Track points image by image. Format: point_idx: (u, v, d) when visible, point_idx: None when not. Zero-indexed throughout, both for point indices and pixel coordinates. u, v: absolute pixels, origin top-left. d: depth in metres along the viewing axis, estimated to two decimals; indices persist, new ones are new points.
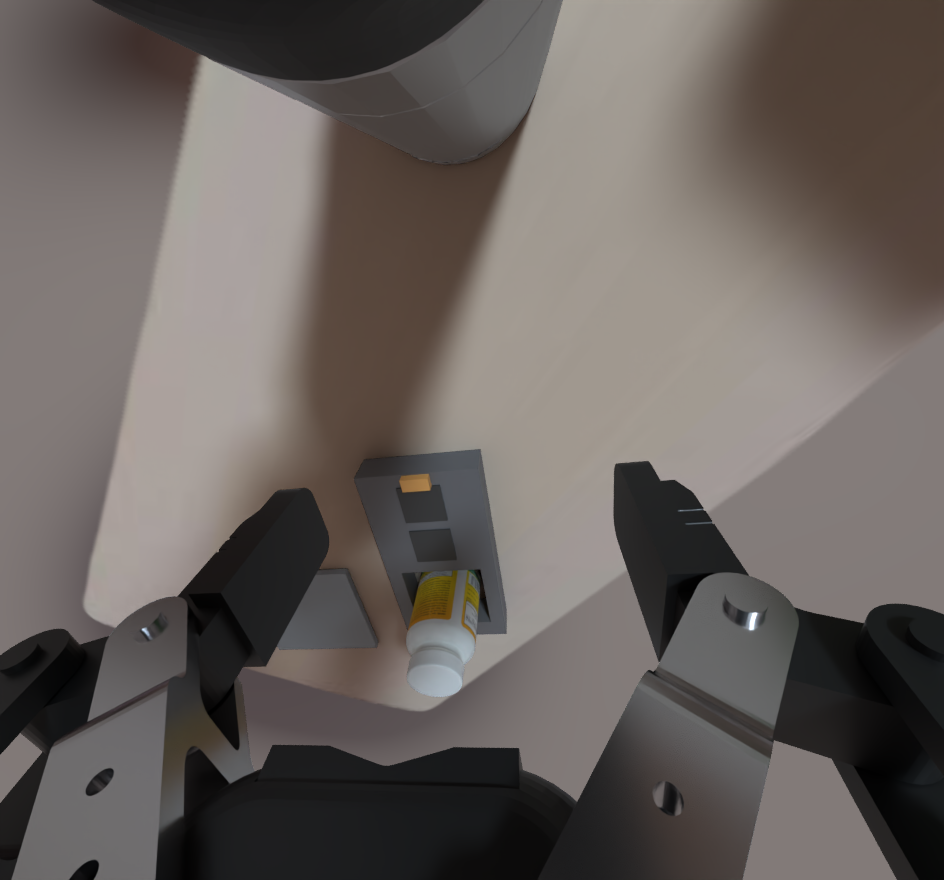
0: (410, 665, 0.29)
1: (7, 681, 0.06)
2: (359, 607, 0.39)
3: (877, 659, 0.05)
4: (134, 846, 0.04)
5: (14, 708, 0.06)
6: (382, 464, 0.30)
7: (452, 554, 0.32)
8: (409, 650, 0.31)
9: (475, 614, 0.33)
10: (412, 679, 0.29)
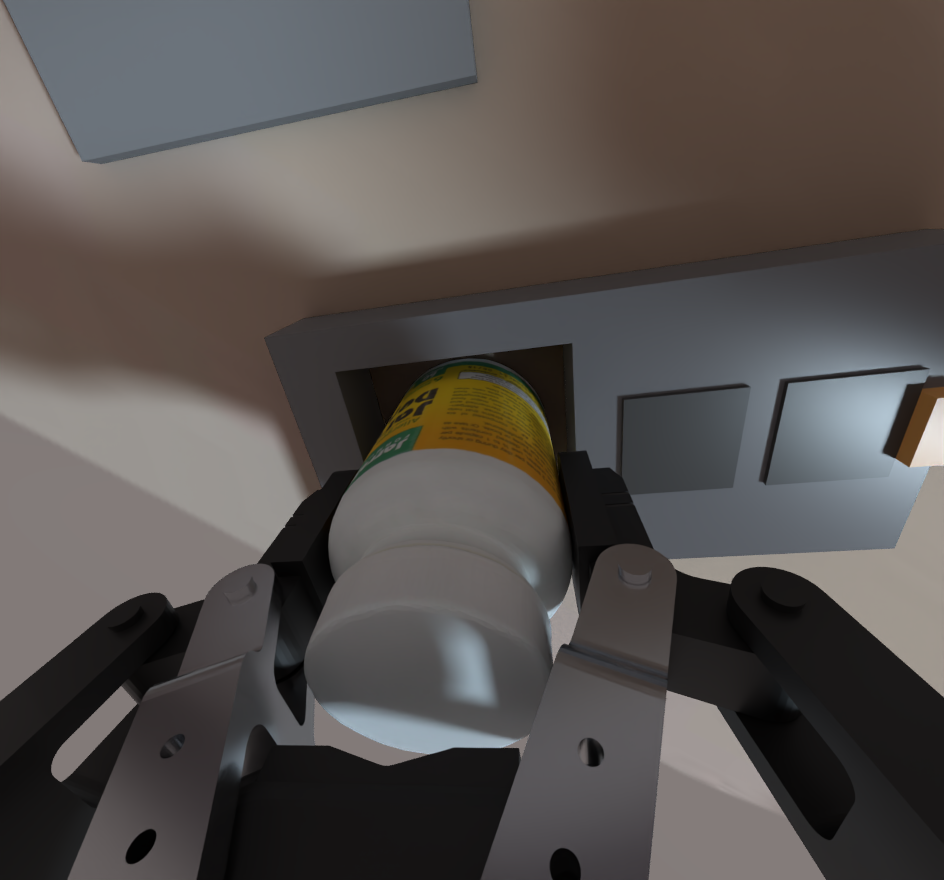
0: (494, 597, 0.06)
1: (111, 638, 0.07)
2: (291, 111, 0.10)
3: (743, 621, 0.06)
4: (188, 827, 0.04)
5: (111, 668, 0.06)
6: None
7: (643, 487, 0.12)
8: (440, 494, 0.07)
9: None
10: (425, 626, 0.06)
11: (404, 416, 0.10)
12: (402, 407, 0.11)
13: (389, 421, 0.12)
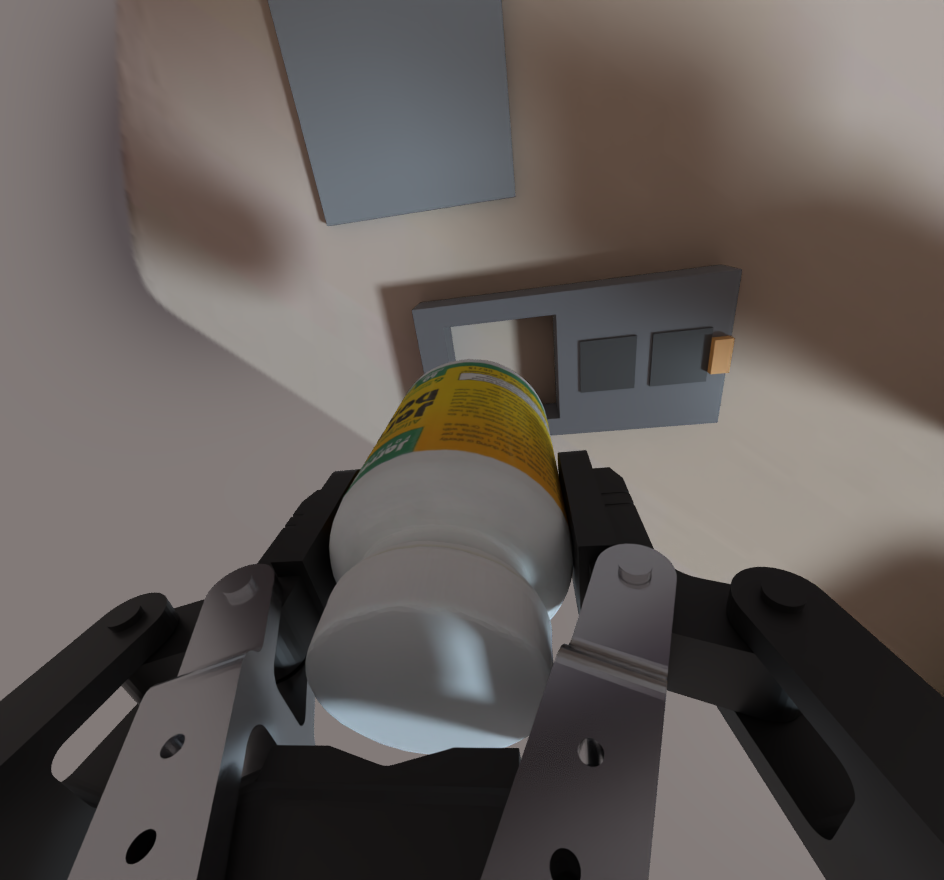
0: (495, 598, 0.06)
1: (112, 638, 0.07)
2: (431, 207, 0.23)
3: (743, 621, 0.06)
4: (188, 827, 0.04)
5: (111, 668, 0.06)
6: None
7: (591, 388, 0.25)
8: (441, 495, 0.07)
9: None
10: (426, 627, 0.06)
11: (405, 417, 0.10)
12: (403, 408, 0.11)
13: (390, 422, 0.12)
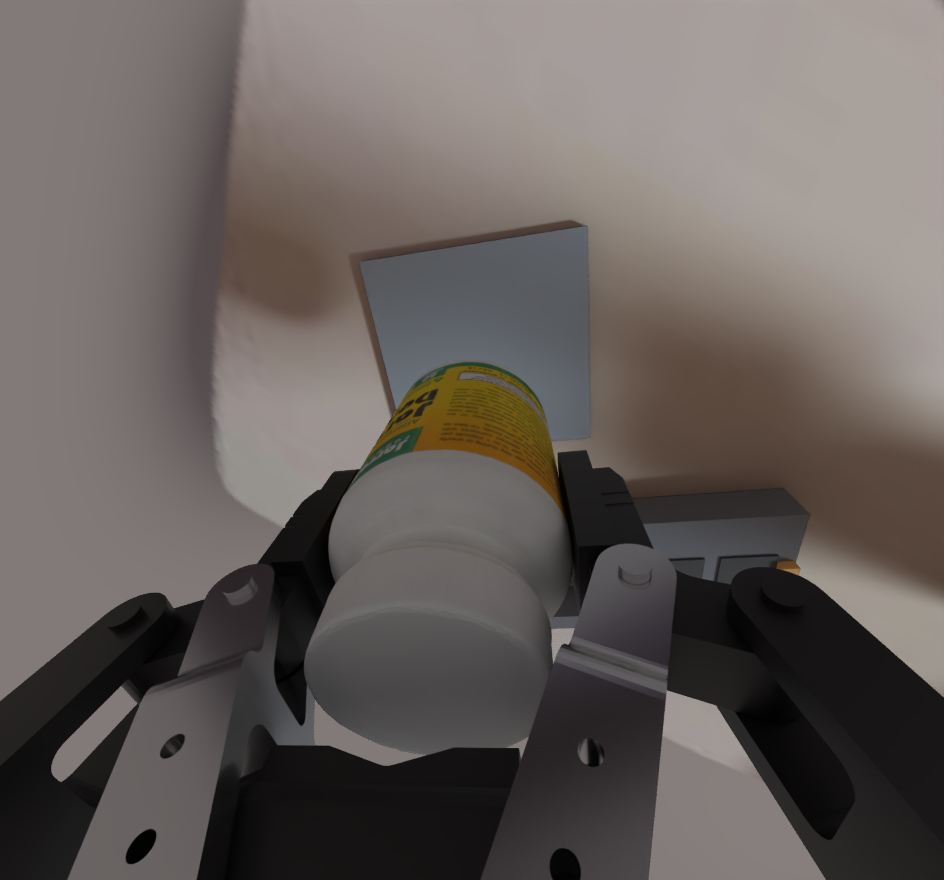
0: (494, 599, 0.06)
1: (112, 638, 0.07)
2: None
3: (743, 621, 0.06)
4: (188, 827, 0.04)
5: (111, 668, 0.06)
6: None
7: None
8: (440, 495, 0.07)
9: None
10: (425, 628, 0.06)
11: (404, 417, 0.10)
12: (402, 408, 0.11)
13: (389, 422, 0.12)
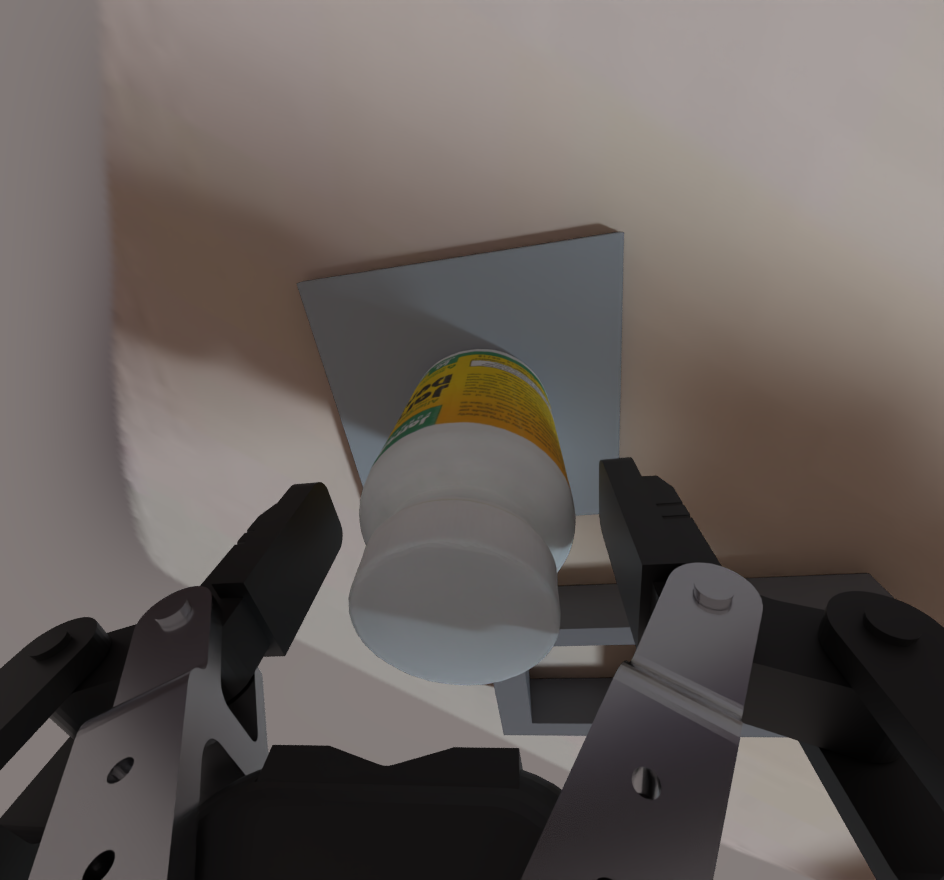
0: (510, 539, 0.07)
1: (37, 667, 0.07)
2: None
3: (838, 645, 0.05)
4: (149, 840, 0.04)
5: (42, 695, 0.06)
6: None
7: None
8: (461, 459, 0.08)
9: None
10: (454, 562, 0.07)
11: (423, 398, 0.11)
12: (419, 392, 0.13)
13: (407, 405, 0.13)
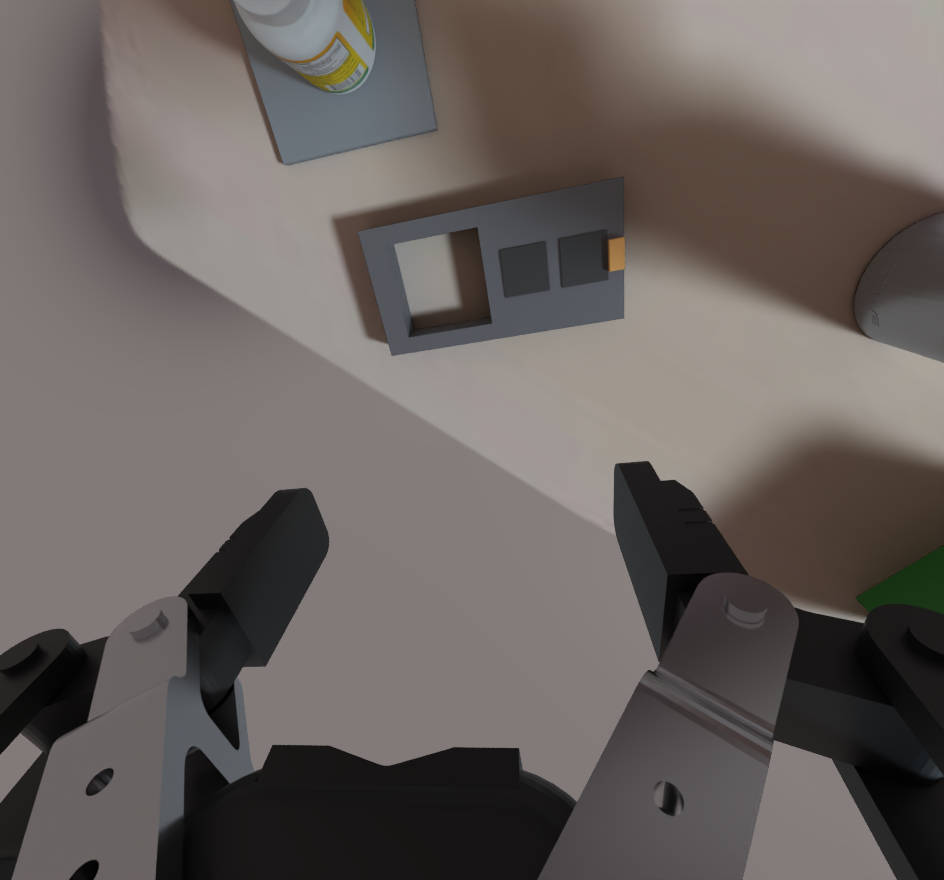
0: None
1: (7, 681, 0.06)
2: (368, 142, 0.28)
3: (877, 659, 0.05)
4: (136, 844, 0.04)
5: (14, 708, 0.06)
6: None
7: (514, 292, 0.30)
8: None
9: (329, 69, 0.22)
10: None
11: None
12: None
13: None
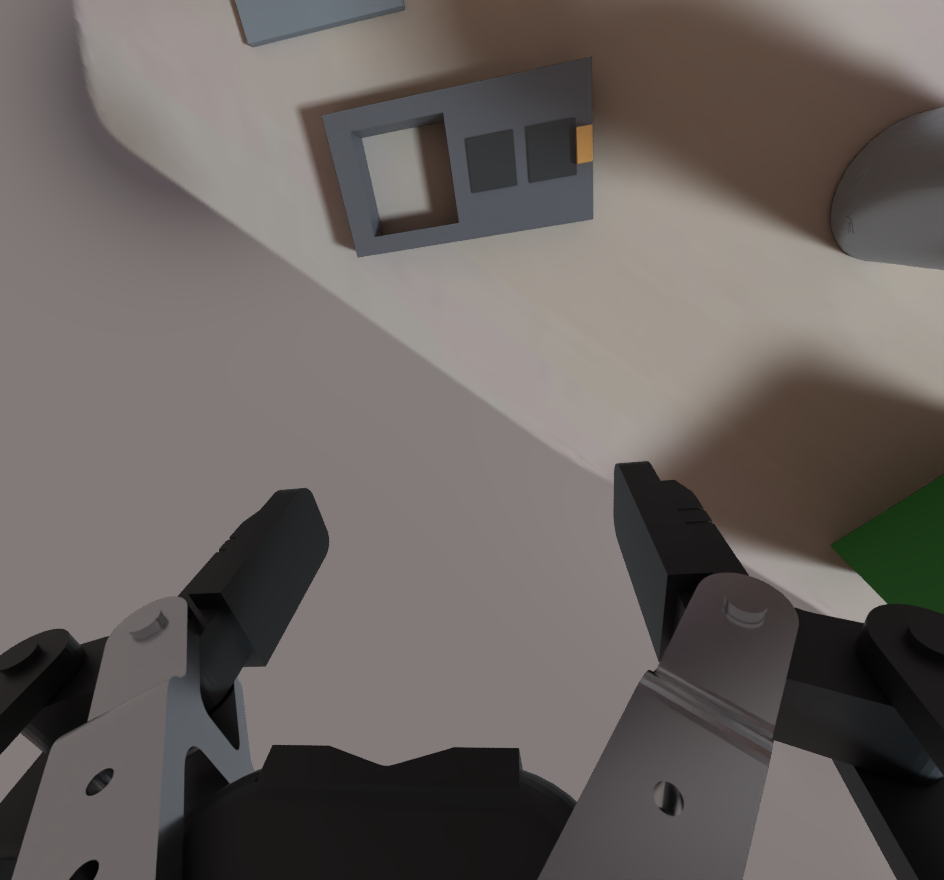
0: None
1: (7, 681, 0.06)
2: (333, 20, 0.27)
3: (877, 659, 0.05)
4: (135, 845, 0.04)
5: (15, 708, 0.06)
6: None
7: (481, 187, 0.29)
8: None
9: None
10: None
11: None
12: None
13: None
